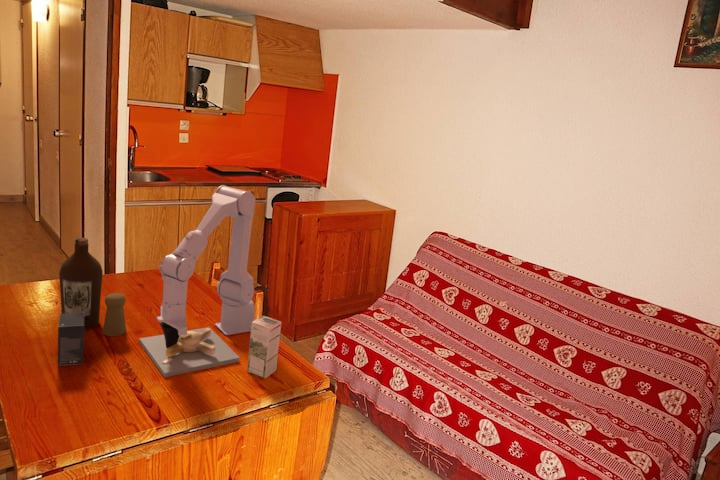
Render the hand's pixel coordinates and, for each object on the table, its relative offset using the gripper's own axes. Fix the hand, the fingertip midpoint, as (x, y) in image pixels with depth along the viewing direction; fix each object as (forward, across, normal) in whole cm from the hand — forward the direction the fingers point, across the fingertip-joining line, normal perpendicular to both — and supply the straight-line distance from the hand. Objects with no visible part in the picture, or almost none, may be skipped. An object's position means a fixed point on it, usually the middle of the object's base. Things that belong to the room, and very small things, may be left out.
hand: (171, 348), depth 139 cm
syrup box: (+3, +16, +18) cm, 24 cm away
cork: (+3, -20, -9) cm, 22 cm away
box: (+3, -9, -22) cm, 24 cm away
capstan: (+1, -1, +5) cm, 6 cm away
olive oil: (+3, -28, -16) cm, 32 cm away
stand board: (+3, -1, +5) cm, 6 cm away
